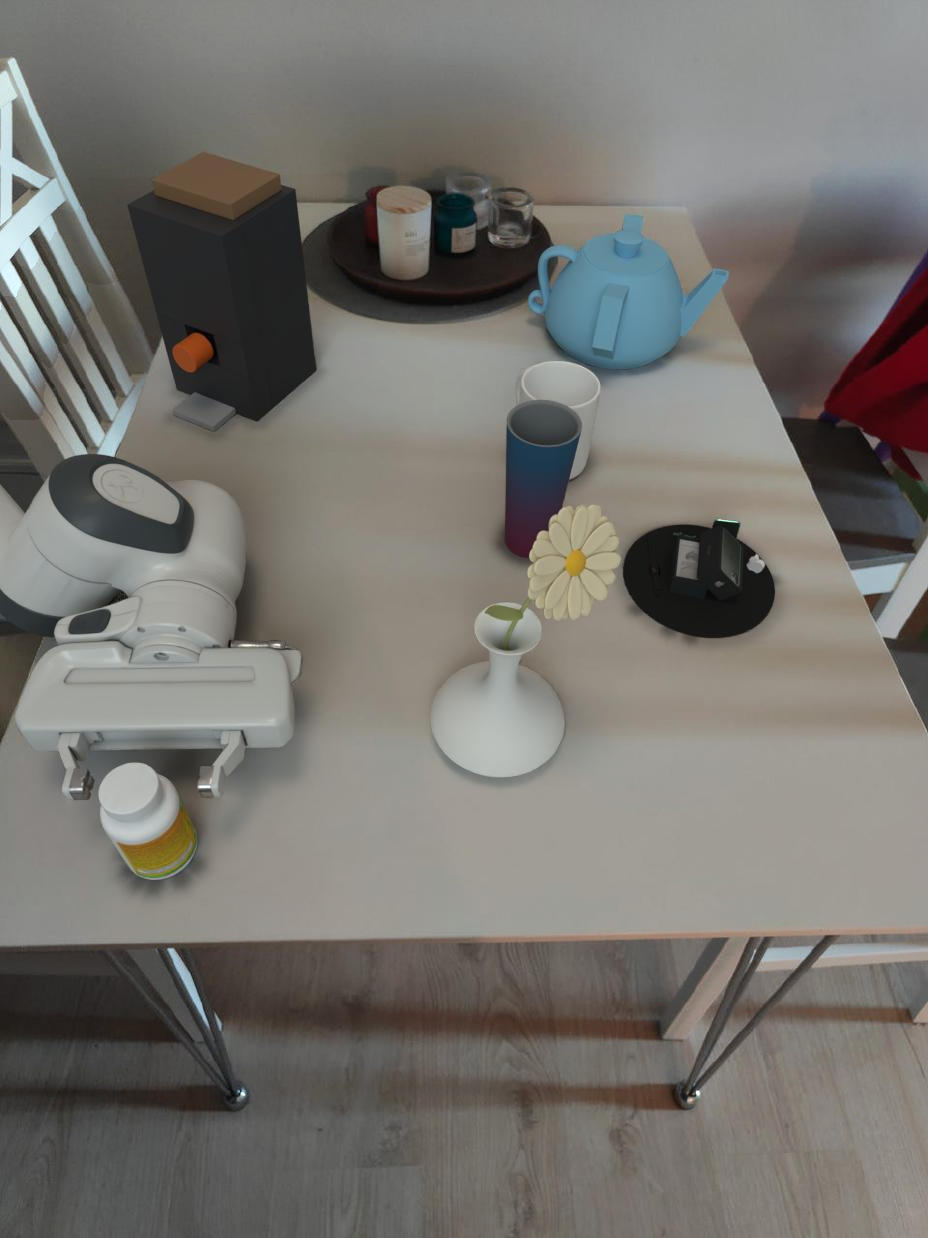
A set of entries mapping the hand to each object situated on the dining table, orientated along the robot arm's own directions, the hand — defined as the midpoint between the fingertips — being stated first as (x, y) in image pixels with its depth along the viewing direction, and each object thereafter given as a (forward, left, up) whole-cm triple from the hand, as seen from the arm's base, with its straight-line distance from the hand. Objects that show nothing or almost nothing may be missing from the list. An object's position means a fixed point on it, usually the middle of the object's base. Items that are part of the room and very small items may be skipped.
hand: (142, 795), depth 61 cm
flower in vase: (+28, +7, -7) cm, 30 cm away
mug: (+38, +43, -7) cm, 58 cm away
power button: (0, +54, -1) cm, 54 cm away
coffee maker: (+3, +58, -7) cm, 59 cm away
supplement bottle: (0, -1, -7) cm, 7 cm away
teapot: (+52, +65, -7) cm, 84 cm away
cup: (+34, +29, -7) cm, 45 cm away
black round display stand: (+50, +22, -7) cm, 55 cm away
